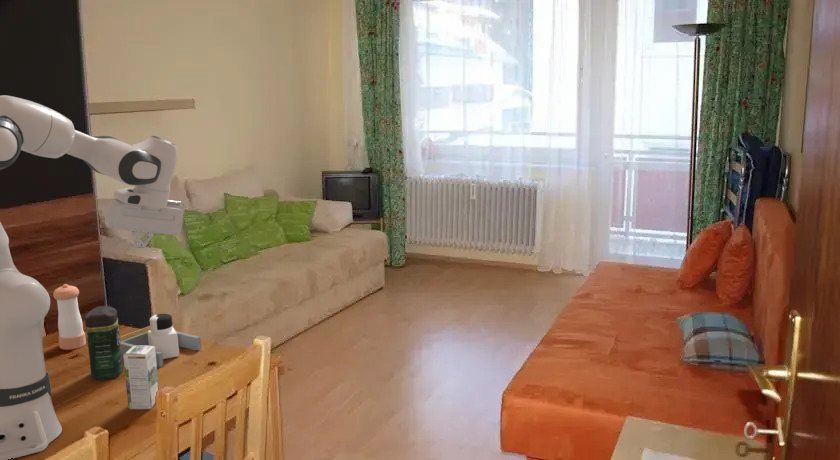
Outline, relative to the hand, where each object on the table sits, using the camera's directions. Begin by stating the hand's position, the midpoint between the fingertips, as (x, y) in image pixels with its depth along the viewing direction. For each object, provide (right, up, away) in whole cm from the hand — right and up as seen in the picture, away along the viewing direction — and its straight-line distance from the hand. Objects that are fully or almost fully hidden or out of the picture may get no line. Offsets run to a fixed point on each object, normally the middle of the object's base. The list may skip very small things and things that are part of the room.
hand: (139, 247), depth 199 cm
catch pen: (-1, -31, +19) cm, 36 cm away
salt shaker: (-30, -30, +26) cm, 50 cm away
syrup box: (+7, -39, -15) cm, 42 cm away
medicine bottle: (+1, -32, +17) cm, 36 cm away
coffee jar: (-10, -35, +4) cm, 37 cm away
